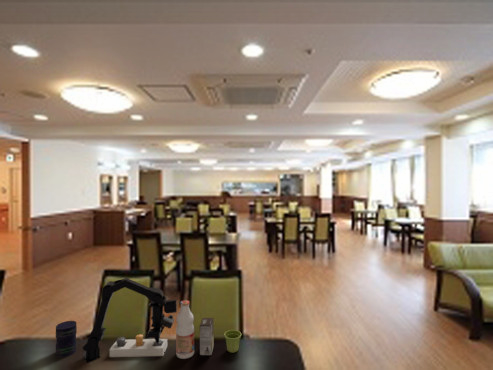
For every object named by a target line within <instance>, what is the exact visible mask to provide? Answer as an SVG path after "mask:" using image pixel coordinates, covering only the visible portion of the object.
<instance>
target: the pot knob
mask: <svg viewBox="0 0 493 370" xmlns="http://www.w3.org/2000/svg"><path fill="white" fill-rule="evenodd" d="M135 339H136V346H142V345H143V339H144V335H143V334H137V335H135Z"/></svg>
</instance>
